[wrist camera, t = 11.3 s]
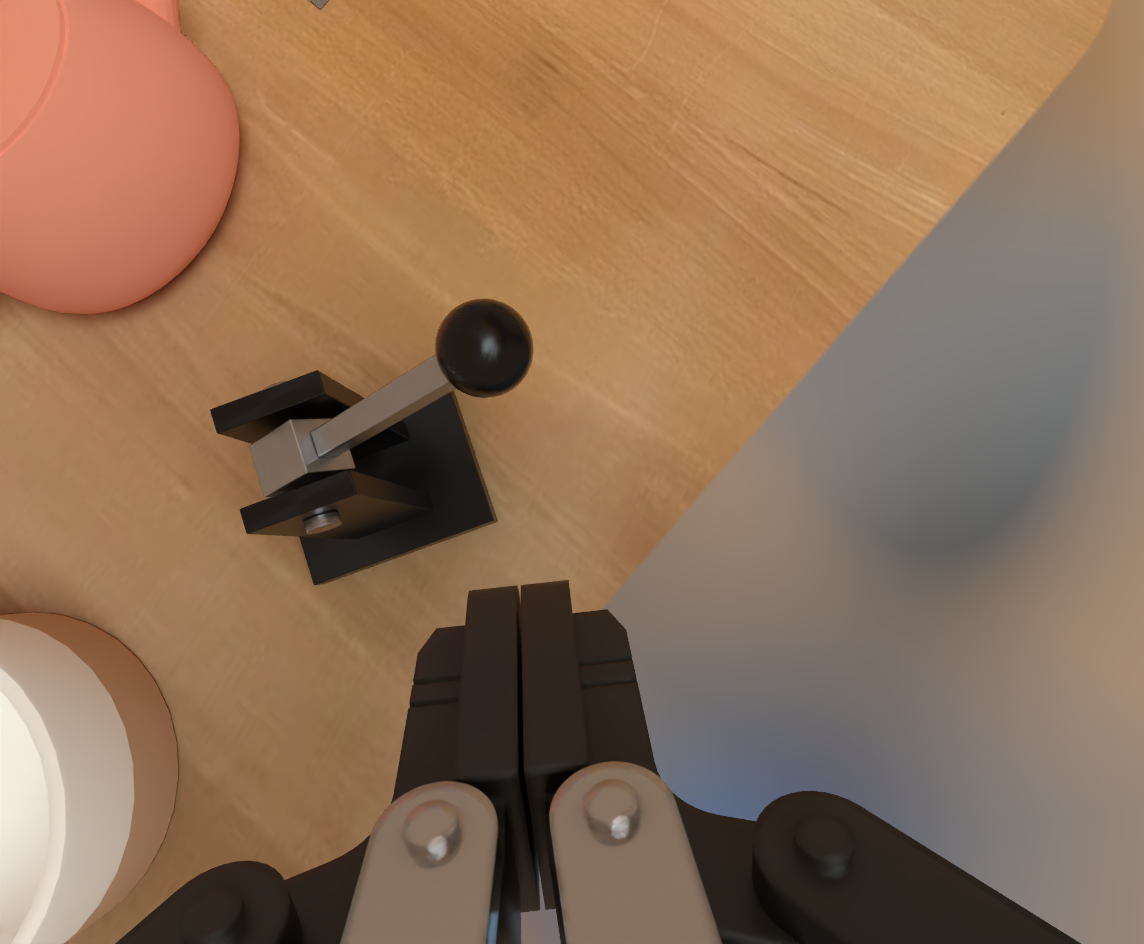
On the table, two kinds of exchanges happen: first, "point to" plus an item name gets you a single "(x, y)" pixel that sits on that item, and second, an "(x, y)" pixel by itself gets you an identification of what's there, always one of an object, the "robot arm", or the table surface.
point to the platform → (319, 3)
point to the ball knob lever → (366, 480)
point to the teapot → (106, 151)
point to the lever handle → (402, 396)
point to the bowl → (76, 775)
